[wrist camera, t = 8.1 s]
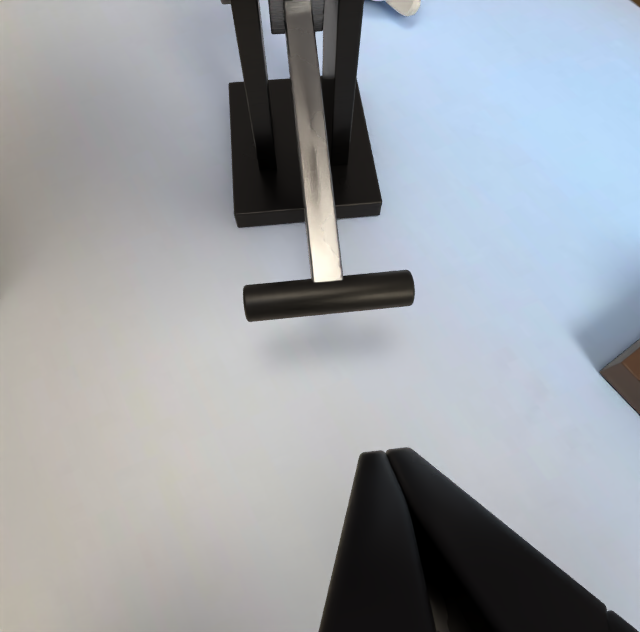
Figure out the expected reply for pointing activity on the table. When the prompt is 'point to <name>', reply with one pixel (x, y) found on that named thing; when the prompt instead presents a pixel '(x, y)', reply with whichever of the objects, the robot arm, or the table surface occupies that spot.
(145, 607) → the table surface
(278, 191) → the bracket
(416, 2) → the rabbit figurine
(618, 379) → the button block
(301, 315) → the lever
